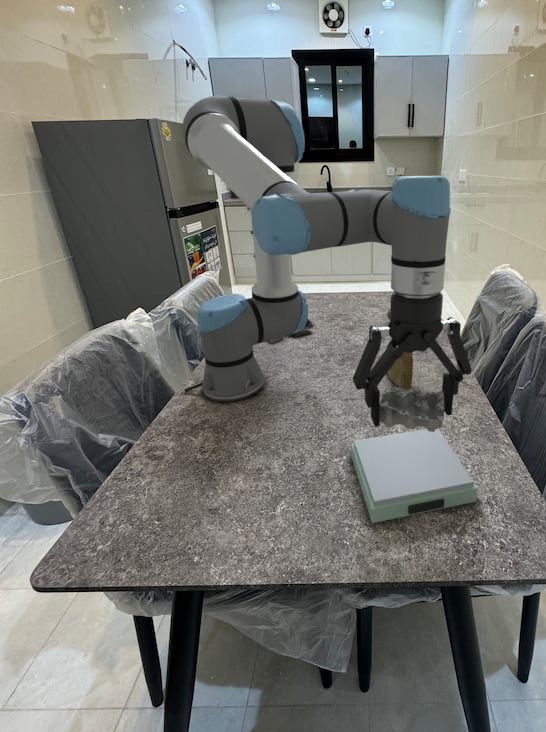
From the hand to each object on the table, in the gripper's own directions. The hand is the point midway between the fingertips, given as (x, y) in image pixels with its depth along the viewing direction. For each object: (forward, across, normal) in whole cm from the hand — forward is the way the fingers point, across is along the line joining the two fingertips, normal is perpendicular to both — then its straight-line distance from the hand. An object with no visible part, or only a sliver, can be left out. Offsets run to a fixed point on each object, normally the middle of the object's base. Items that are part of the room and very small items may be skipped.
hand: (411, 416), depth 64 cm
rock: (+13, +9, +33) cm, 37 cm away
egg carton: (0, 0, 0) cm, 0 cm away
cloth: (+13, -18, +76) cm, 79 cm away
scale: (+13, 0, 0) cm, 13 cm away
